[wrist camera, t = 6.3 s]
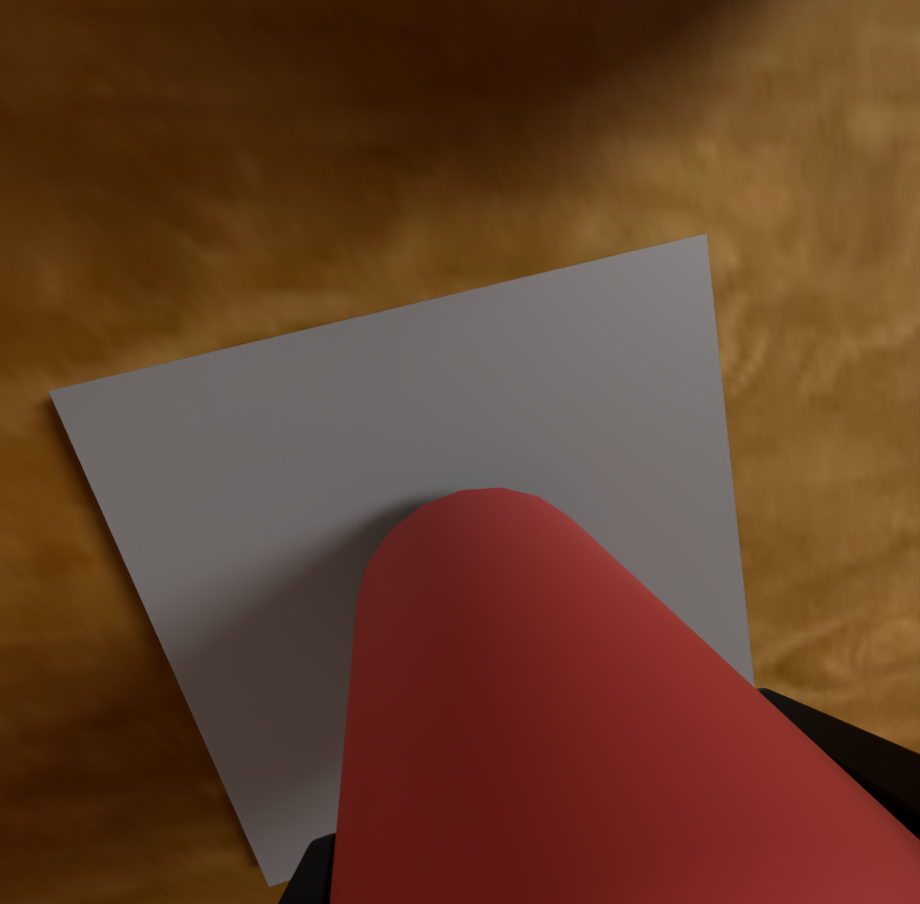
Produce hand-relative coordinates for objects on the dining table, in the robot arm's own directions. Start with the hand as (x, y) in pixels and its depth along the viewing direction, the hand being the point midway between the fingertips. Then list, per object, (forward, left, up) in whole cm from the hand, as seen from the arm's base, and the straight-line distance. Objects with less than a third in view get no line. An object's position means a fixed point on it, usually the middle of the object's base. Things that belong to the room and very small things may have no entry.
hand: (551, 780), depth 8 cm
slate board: (0, 0, -8) cm, 8 cm away
